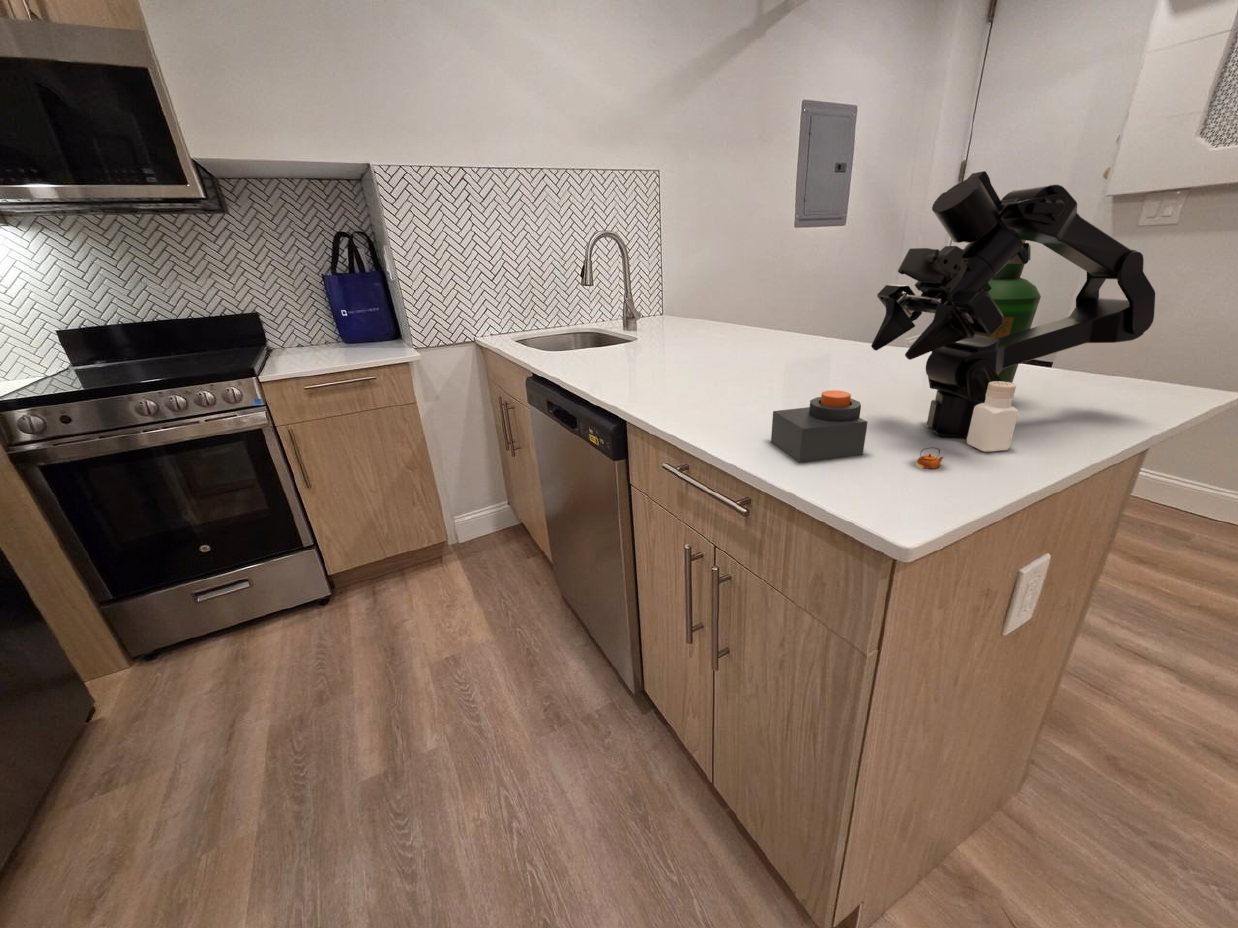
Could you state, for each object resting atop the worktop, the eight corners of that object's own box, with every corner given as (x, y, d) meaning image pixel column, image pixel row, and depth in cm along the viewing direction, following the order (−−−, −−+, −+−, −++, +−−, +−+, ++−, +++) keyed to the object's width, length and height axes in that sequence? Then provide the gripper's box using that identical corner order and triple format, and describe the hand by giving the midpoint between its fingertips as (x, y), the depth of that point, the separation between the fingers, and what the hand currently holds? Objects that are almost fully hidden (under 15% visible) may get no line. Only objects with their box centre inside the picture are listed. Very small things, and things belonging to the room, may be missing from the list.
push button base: (833, 434, 82) (838, 392, 79) (868, 454, 73) (875, 408, 71) (770, 442, 80) (773, 399, 77) (799, 463, 72) (803, 416, 69)
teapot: (918, 460, 71) (921, 442, 70) (942, 464, 69) (946, 446, 68) (913, 467, 69) (916, 449, 68) (938, 471, 67) (942, 453, 66)
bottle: (932, 395, 99) (963, 239, 88) (992, 394, 97) (1031, 236, 86) (958, 411, 89) (997, 238, 78) (1025, 410, 88) (1073, 234, 77)
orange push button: (839, 400, 77) (840, 389, 76) (855, 407, 73) (856, 395, 72) (815, 403, 76) (816, 391, 75) (830, 410, 72) (831, 398, 72)
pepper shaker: (1010, 451, 72) (1028, 386, 68) (983, 453, 72) (999, 388, 68) (989, 441, 76) (1004, 379, 72) (963, 443, 75) (978, 381, 72)
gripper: (898, 228, 76) (822, 308, 79) (1006, 219, 59) (904, 323, 62) (935, 280, 80) (861, 355, 83) (1045, 286, 63) (948, 380, 66)
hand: (889, 352), depth 73 cm, fingers open, 7 cm apart
